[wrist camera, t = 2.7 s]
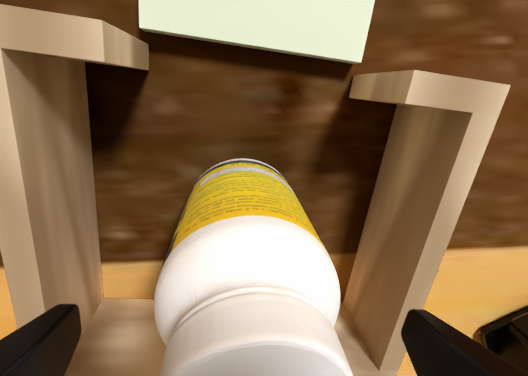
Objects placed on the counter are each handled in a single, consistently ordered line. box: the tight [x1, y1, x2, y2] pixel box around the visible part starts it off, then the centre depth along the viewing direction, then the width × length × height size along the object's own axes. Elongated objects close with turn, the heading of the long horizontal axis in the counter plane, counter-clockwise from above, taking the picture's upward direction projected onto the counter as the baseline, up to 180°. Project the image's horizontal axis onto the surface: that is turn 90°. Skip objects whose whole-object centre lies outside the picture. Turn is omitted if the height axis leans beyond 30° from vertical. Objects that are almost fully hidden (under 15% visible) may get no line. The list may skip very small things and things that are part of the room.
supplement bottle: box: [154, 158, 353, 376], centre depth 10 cm, size 5×5×10 cm
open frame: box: [0, 4, 511, 376], centre depth 12 cm, size 16×14×4 cm
